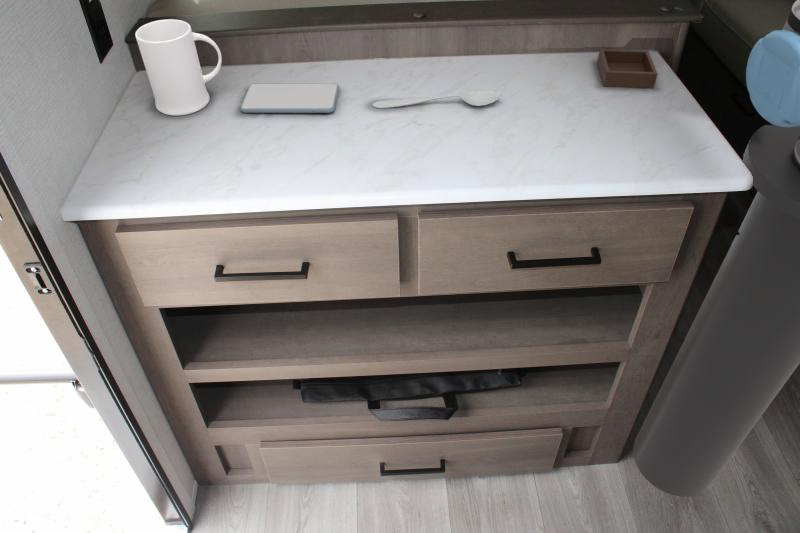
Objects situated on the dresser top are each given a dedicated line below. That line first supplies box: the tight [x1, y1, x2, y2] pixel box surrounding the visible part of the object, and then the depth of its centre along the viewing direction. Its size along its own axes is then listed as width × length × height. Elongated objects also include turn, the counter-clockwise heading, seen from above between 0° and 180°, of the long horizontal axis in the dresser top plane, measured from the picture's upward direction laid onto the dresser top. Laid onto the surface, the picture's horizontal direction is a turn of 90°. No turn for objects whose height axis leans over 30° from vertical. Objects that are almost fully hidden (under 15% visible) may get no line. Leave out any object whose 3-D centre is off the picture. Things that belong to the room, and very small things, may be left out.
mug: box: [134, 18, 223, 117], centre depth 99 cm, size 12×8×12 cm
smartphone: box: [239, 82, 340, 114], centre depth 102 cm, size 8×1×15 cm
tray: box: [596, 48, 658, 89], centre depth 107 cm, size 8×8×3 cm
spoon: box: [372, 90, 502, 109], centre depth 101 cm, size 4×21×2 cm, turn 92°
